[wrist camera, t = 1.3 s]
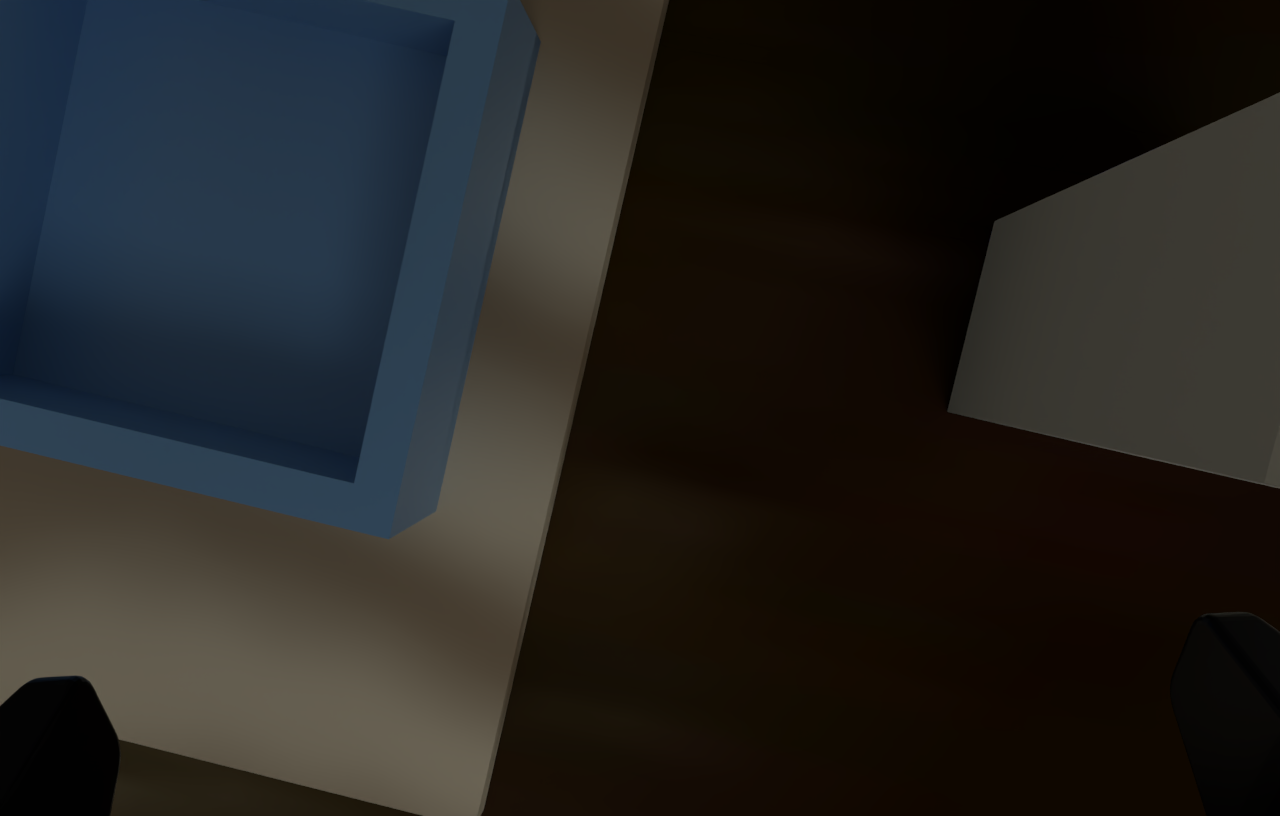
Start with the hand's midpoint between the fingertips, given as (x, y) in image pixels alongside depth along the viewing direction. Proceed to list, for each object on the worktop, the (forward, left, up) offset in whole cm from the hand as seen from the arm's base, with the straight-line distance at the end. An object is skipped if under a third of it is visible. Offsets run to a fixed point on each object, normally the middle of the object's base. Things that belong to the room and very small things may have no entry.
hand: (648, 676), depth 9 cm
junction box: (+3, +9, -13) cm, 17 cm away
